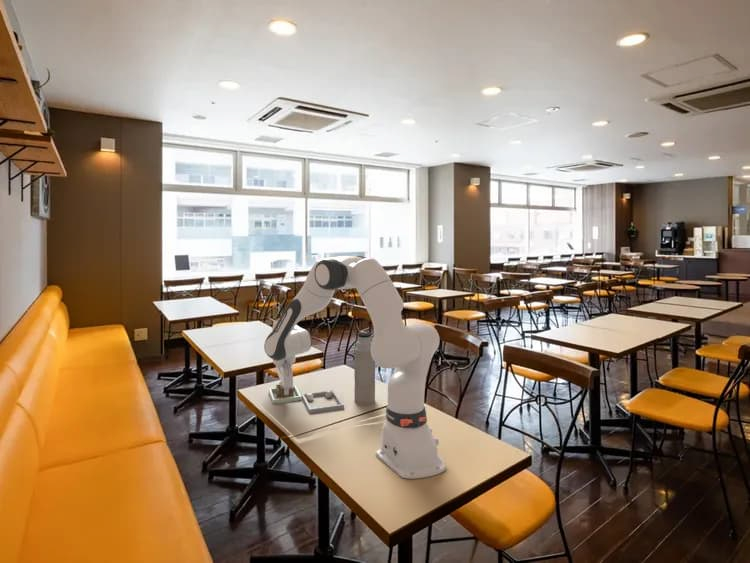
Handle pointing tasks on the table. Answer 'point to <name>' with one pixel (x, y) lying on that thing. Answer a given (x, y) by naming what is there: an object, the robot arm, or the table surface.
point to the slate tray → (326, 408)
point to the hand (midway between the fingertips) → (284, 391)
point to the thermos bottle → (364, 371)
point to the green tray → (288, 399)
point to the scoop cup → (281, 392)
